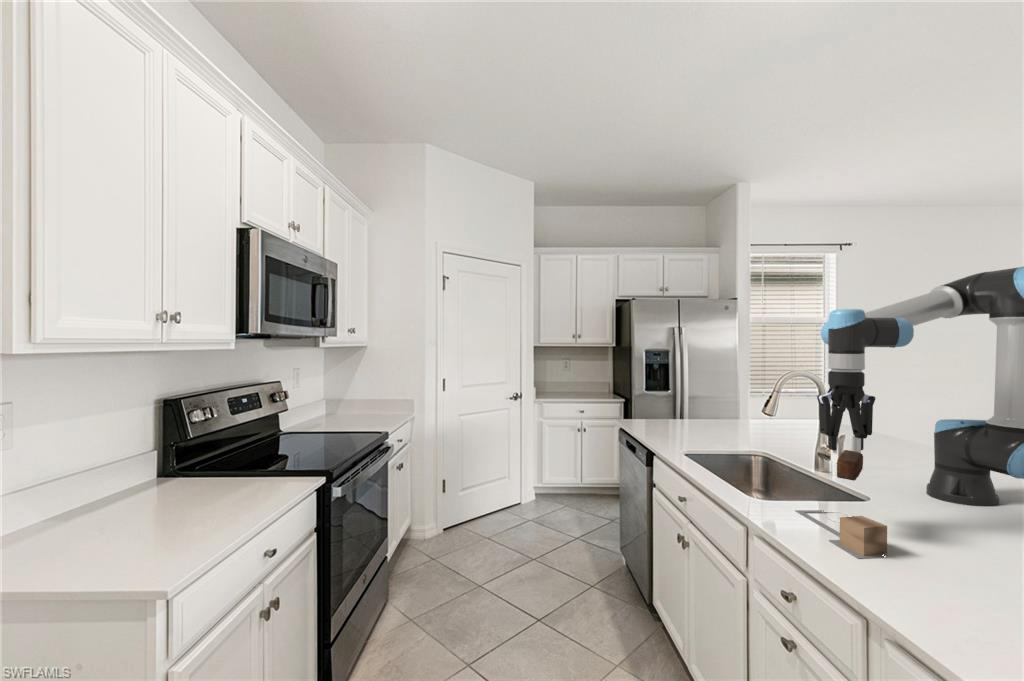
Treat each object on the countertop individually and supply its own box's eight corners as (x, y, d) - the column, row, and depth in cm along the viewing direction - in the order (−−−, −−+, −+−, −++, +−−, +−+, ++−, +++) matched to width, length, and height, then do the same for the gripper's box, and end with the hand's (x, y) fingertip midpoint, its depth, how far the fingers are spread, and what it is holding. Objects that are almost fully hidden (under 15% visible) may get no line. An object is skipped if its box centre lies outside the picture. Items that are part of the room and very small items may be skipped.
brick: (856, 482, 109) (857, 462, 109) (836, 478, 112) (836, 458, 112) (863, 469, 117) (863, 450, 117) (844, 465, 120) (844, 447, 120)
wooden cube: (861, 541, 108) (861, 515, 108) (887, 553, 103) (887, 525, 103) (839, 543, 107) (839, 517, 107) (863, 555, 101) (864, 527, 101)
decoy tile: (867, 540, 109) (867, 539, 109) (899, 558, 100) (899, 557, 100) (828, 540, 109) (828, 540, 109) (857, 558, 100) (857, 557, 100)
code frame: (842, 511, 129) (842, 510, 129) (893, 537, 112) (893, 536, 112) (795, 511, 128) (795, 510, 128) (839, 537, 111) (839, 536, 111)
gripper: (868, 369, 123) (868, 459, 123) (802, 369, 123) (802, 459, 123) (892, 371, 116) (891, 467, 116) (822, 371, 115) (821, 467, 115)
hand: (845, 462), depth 119 cm, fingers closed on brick, 4 cm apart
